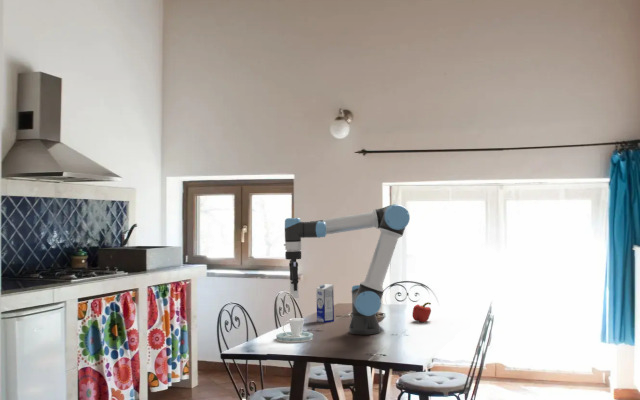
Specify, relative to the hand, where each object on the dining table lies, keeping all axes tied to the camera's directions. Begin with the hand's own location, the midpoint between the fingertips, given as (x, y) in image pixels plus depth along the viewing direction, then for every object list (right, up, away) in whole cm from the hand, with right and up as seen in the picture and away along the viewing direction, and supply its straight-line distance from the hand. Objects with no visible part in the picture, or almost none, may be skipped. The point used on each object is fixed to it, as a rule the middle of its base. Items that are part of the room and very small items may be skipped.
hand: (294, 296), depth 304 cm
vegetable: (+67, -20, +43) cm, 82 cm away
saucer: (0, -20, -1) cm, 20 cm away
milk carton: (+15, -21, +49) cm, 55 cm away
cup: (0, -20, +2) cm, 20 cm away
